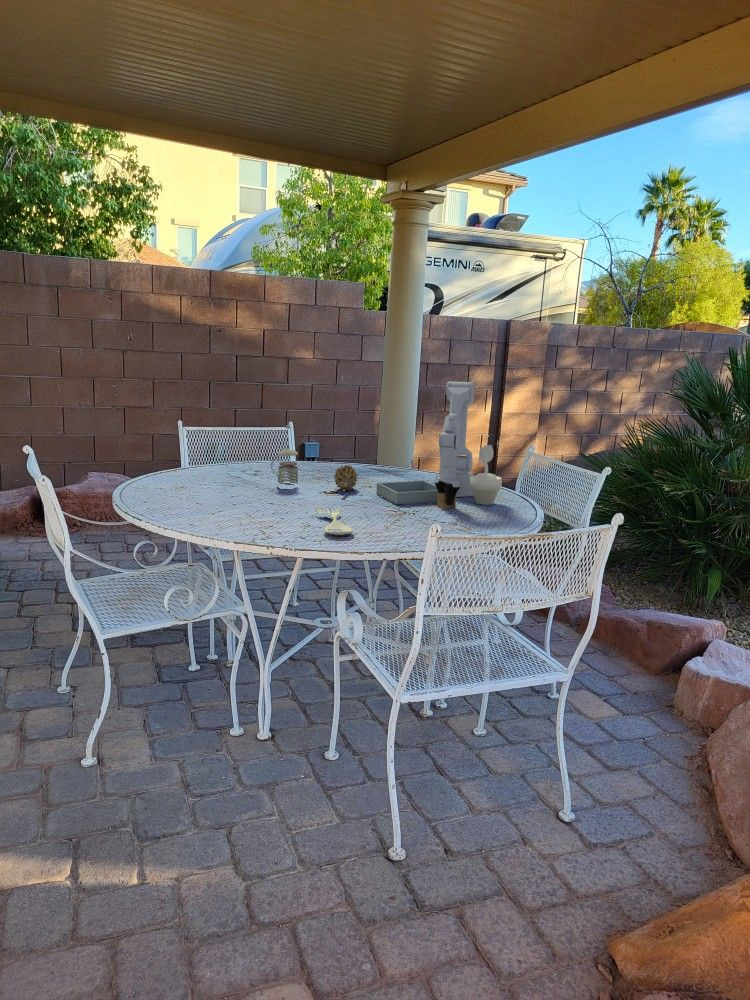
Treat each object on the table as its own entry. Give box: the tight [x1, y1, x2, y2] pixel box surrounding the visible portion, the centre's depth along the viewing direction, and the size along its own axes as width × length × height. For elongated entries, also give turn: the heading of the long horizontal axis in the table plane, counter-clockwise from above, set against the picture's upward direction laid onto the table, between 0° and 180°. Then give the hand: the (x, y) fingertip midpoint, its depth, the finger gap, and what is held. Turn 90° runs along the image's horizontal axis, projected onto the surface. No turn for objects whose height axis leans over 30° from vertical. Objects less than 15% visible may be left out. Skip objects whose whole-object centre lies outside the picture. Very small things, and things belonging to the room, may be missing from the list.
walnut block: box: [436, 492, 457, 510], centre depth 262 cm, size 5×5×5 cm
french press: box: [270, 424, 299, 485], centre depth 290 cm, size 10×12×25 cm
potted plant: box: [470, 441, 504, 506], centre depth 268 cm, size 13×12×25 cm
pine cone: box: [333, 464, 358, 491], centre depth 285 cm, size 22×10×10 cm, turn 1°
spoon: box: [314, 505, 355, 536], centre depth 232 cm, size 9×32×4 cm, turn 11°
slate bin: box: [376, 480, 438, 505], centre depth 277 cm, size 20×20×4 cm
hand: (446, 503), depth 263 cm, fingers closed on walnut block, 5 cm apart
